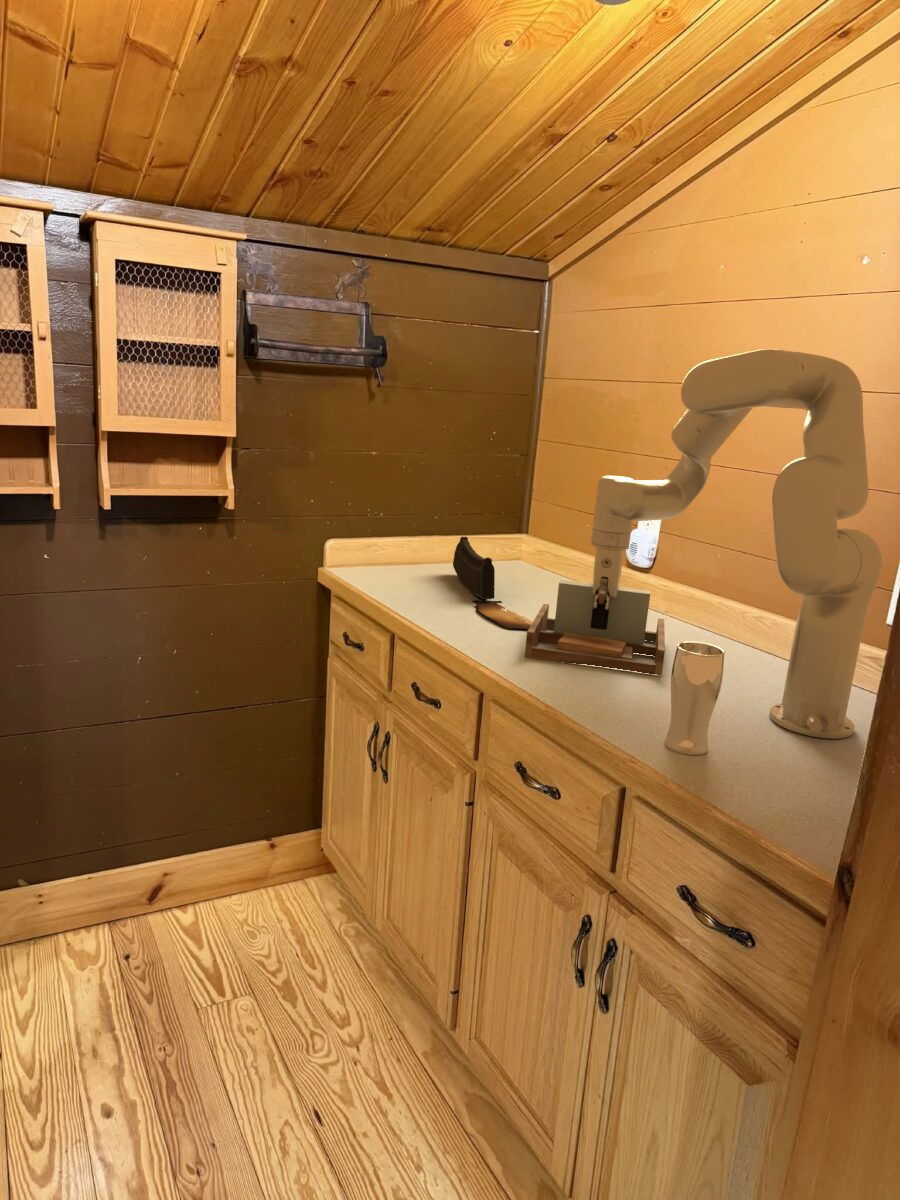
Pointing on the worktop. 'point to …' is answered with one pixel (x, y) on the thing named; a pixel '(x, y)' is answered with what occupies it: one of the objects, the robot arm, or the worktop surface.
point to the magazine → (474, 570)
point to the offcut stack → (594, 646)
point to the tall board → (623, 611)
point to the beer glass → (694, 695)
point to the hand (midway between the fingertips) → (600, 622)
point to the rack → (539, 634)
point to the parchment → (501, 614)
